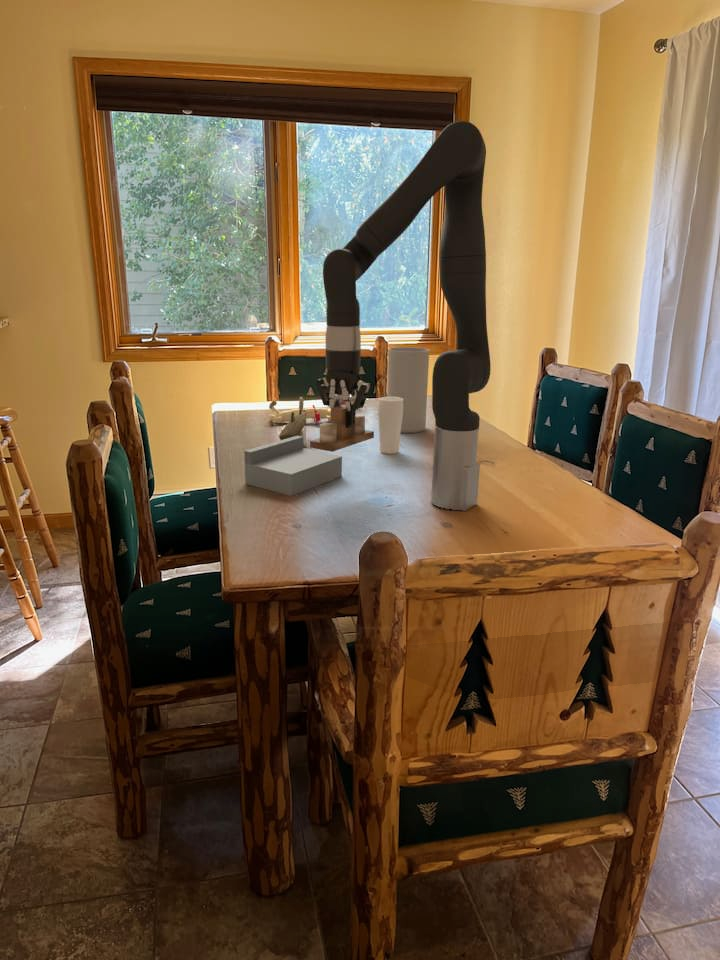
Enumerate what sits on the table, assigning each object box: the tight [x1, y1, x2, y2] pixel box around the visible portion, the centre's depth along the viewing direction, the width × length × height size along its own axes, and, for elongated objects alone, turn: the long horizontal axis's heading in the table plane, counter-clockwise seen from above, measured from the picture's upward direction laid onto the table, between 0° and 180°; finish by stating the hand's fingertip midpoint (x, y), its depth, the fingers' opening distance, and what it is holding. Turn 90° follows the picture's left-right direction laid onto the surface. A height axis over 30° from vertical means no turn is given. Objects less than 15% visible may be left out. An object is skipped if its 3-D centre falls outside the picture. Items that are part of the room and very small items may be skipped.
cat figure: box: [268, 400, 331, 426], centre depth 222 cm, size 10×9×25 cm
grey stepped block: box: [244, 436, 343, 497], centre depth 163 cm, size 14×19×8 cm
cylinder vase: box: [386, 346, 430, 434], centre depth 214 cm, size 12×12×25 cm
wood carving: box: [278, 396, 308, 449], centre depth 192 cm, size 9×35×11 cm, turn 177°
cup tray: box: [309, 405, 375, 453], centre depth 152 cm, size 16×6×8 cm, turn 146°
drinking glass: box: [377, 396, 403, 455], centre depth 188 cm, size 7×7×15 cm
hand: (342, 426), depth 152 cm, fingers closed on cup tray, 3 cm apart
